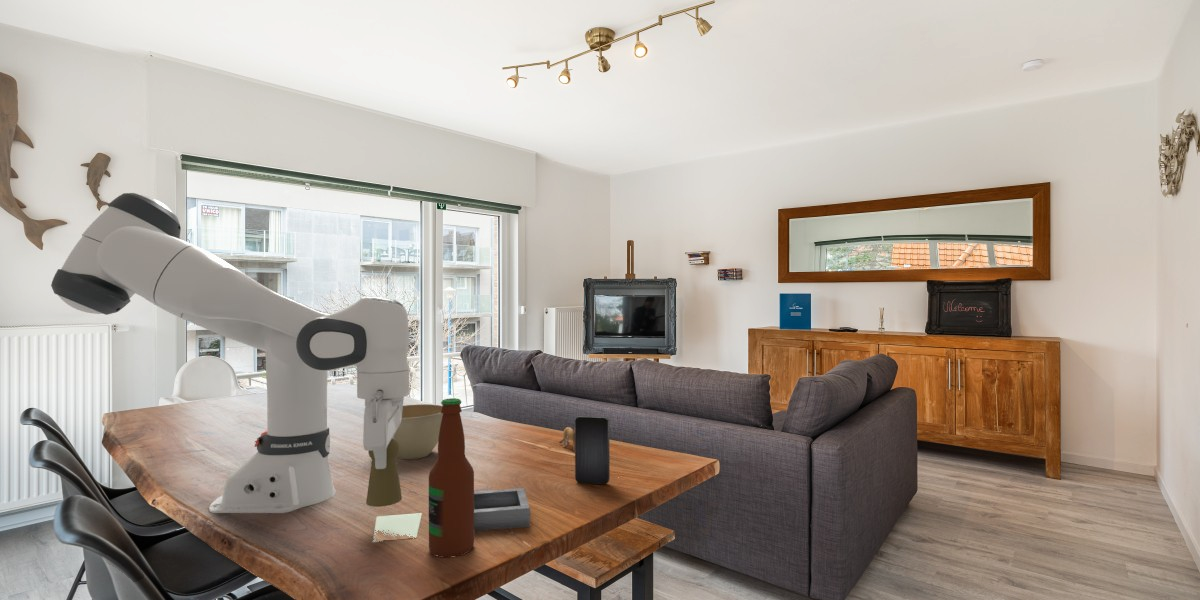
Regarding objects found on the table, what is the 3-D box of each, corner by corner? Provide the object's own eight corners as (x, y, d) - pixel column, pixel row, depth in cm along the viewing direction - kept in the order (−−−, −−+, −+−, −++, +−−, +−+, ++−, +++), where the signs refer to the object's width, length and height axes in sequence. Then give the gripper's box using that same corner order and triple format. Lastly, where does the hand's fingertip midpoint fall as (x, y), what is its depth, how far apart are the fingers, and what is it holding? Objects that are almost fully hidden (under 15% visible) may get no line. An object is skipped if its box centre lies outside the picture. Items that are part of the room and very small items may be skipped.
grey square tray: (465, 532, 101) (465, 513, 101) (466, 509, 112) (466, 492, 112) (529, 527, 104) (529, 507, 104) (524, 505, 115) (523, 487, 115)
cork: (408, 496, 105) (408, 436, 105) (389, 507, 99) (389, 444, 99) (379, 493, 106) (379, 434, 106) (358, 505, 100) (358, 442, 100)
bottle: (444, 538, 99) (444, 395, 99) (482, 543, 97) (481, 397, 97) (419, 556, 92) (419, 402, 92) (459, 562, 90) (459, 404, 90)
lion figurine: (593, 450, 156) (592, 424, 156) (581, 453, 153) (581, 426, 153) (564, 443, 165) (564, 417, 165) (553, 445, 161) (553, 420, 161)
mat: (341, 547, 95) (341, 545, 95) (355, 520, 107) (355, 518, 107) (416, 540, 98) (416, 538, 98) (422, 514, 110) (422, 512, 110)
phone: (609, 483, 128) (609, 417, 128) (608, 485, 127) (608, 418, 127) (575, 481, 130) (575, 415, 130) (574, 482, 129) (574, 416, 129)
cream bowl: (386, 448, 159) (386, 405, 159) (452, 446, 161) (451, 403, 161) (367, 467, 141) (366, 418, 141) (441, 464, 143) (441, 416, 143)
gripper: (394, 395, 93) (394, 479, 93) (408, 378, 113) (408, 447, 113) (353, 396, 91) (353, 482, 91) (374, 379, 111) (374, 449, 111)
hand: (384, 462), depth 102 cm, fingers closed on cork, 5 cm apart
